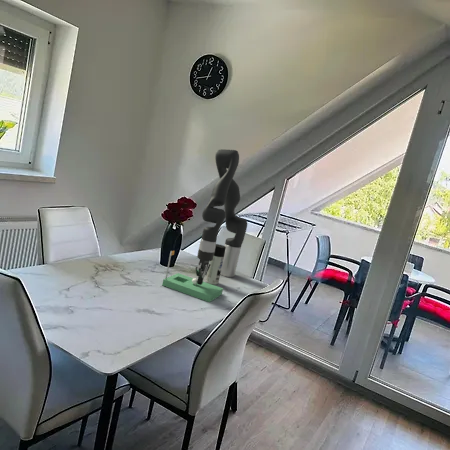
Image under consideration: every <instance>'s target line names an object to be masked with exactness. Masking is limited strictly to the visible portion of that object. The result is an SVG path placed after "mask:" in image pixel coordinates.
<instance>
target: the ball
mask: <svg viewBox="0 0 450 450" xmlns="http://www.w3.org/2000/svg"><path fill="white" fill-rule="evenodd" d="M193 278H194V279H192V283H193V284H194V285H196V284H197V281H198V278H196V277H193Z"/></svg>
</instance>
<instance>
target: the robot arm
mask: <svg viewBox="0 0 450 450" xmlns="http://www.w3.org/2000/svg"><path fill="white" fill-rule="evenodd" d="M214 158H215V165H216V170H217V173H218V176H219V179H218V181H216V182H215V183H214V186H213V188H212V190H211V196H210V199H209V201H208V203H207V204H206V206H205V208H204V209H203V211H202V214H201V217H202V220H203V221H204V222H208V223H212V224H215V225H214V226H205V227H203V229H202V235H201V240H200V242H199V247H198V250H197V251H198V252H197V256H196V257H197V258H198V259H199V262H198V265H197V266H195V273H196V274H195V275H196V276H197V280H198V281H197V284H199V285H202V284H203V282H204V279H205V276H207V273H208V270H209V268H210V266H211V264H209V263H210V261H212V260H213V257H214V252H215V247H216V244H217V239H218V235H219V231H220V229H221V226H223V224H224V221H225V228H226V230H227V231H228V232H230V233H232V234H234V237H227V238H225V241H224V246H225V247H226V249H225V254H224V259H223V264H222V269H221V273H220V276H224V277H228V278H234V277H235V275H236V270H237V267H238V262H239V257H240V254H241V249H242V246H243V243H244V240H245V237H246V233H247V230H248V229H247V228H248V220H247V219H246V218H243V217H239V216H237V215H236V213H235V209H236V208H237V206H238V204H239V203H240V200H241V193H240V192H241V191H240V187H239V185H238V183H237V182H236V181H235V180H234V179H233V178H234V176H235V175H236V171H237V169H238V167H239V163H240V154H239V152H238V150H236V149H221V148H220V149H217V150H216V152H215V157H214ZM223 206H224V208H223V209H222V208H218V207H223Z"/></svg>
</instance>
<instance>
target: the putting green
mask: <svg viewBox="0 0 450 450" xmlns="http://www.w3.org/2000/svg"><path fill="white" fill-rule="evenodd" d="M174 255H175V250H170V253H169V257H168V264H167V269H166V274H165V278H163V280H162V284H161V286H163V287H165V286H166V287H167V288H169V289H171V290H174V291H177V292H180V293H183V294H185V295H189V296H191V297H194V298H196V299H199V300H203V301H204V302H207V303H211V302H213V300H215V299H217V298H219V297H220V296H222V295H223V291H224V288H223V287H220V286H219V285H218V286H217V285H214V284H209V283H207V282H206V281H203V284H202V285H199V284H196V285H194V284H193V283H192V279H194V278H195V277H192V276H191V277H190V276H188V275H185V274H182V273H179V272H178V273H175V274H173V275H170V276H169V277H168V273H169V269H170V264H171V258H172V256H174Z"/></svg>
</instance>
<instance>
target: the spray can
mask: <svg viewBox="0 0 450 450" xmlns="http://www.w3.org/2000/svg"><path fill="white" fill-rule="evenodd" d="M225 249H226V247H225V245H223V244H218V243H216V247H215V252H214V257H213V260H212V261H209V264H211V266H210V268H209V270H208V272H207V274H206V279H205V282H206V283H209V284H212V285H215V286H217V285H218V284H219V282H220V279H221V278H220V276H221V274H220V273H221V269H222V264H223V259H224V254H225Z"/></svg>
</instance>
